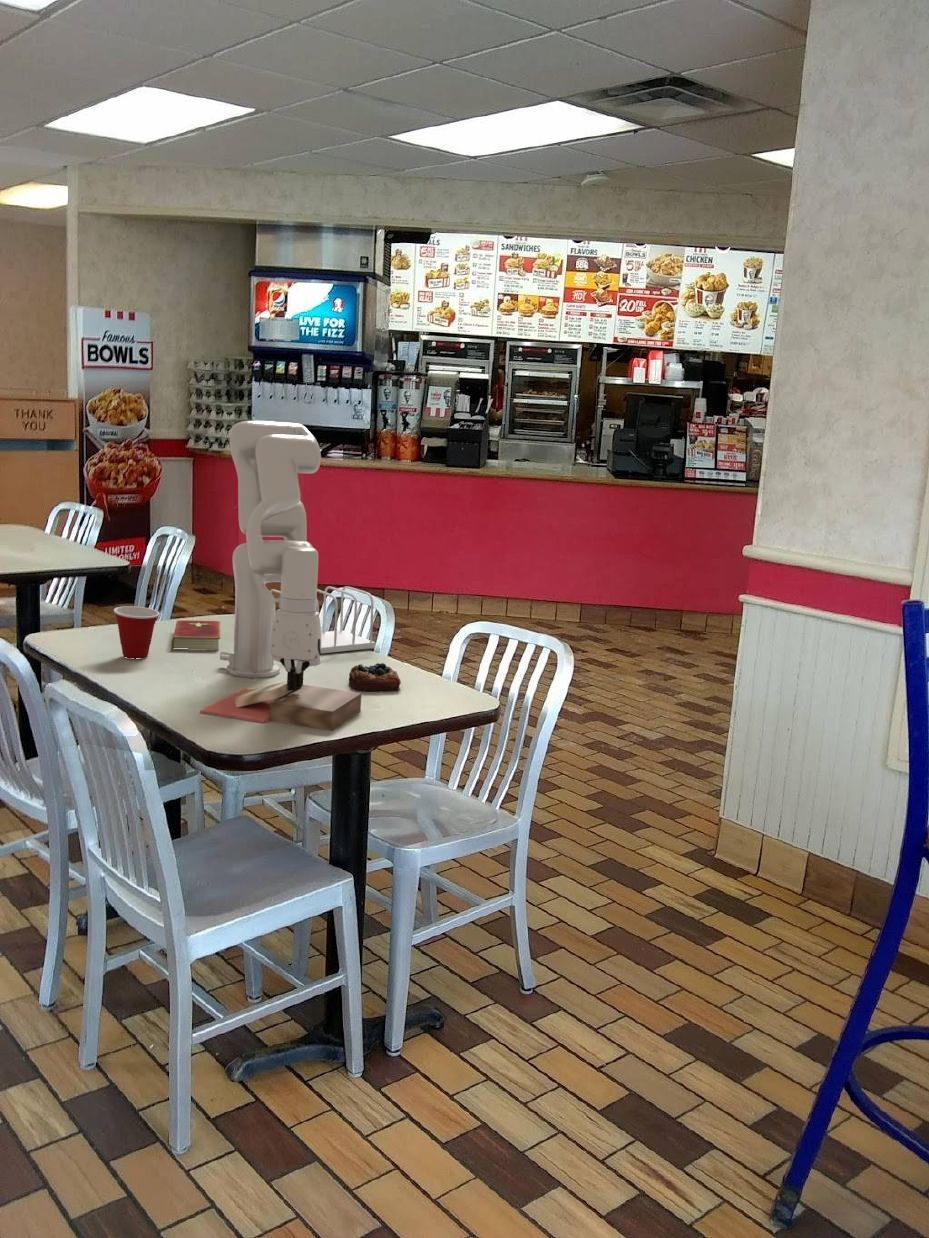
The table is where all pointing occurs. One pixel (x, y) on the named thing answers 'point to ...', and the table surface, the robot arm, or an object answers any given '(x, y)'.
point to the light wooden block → (262, 694)
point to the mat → (240, 709)
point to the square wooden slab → (315, 707)
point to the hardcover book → (197, 634)
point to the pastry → (374, 678)
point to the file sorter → (342, 639)
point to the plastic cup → (135, 630)
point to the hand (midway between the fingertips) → (294, 689)
